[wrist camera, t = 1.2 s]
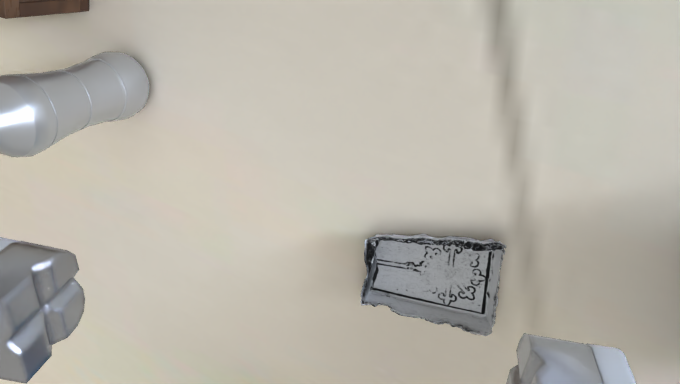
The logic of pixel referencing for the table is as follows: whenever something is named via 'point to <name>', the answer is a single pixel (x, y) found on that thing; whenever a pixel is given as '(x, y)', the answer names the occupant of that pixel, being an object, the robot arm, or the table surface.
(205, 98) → the table surface
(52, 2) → the dark wooden box
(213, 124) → the table surface
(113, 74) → the plastic bottle
